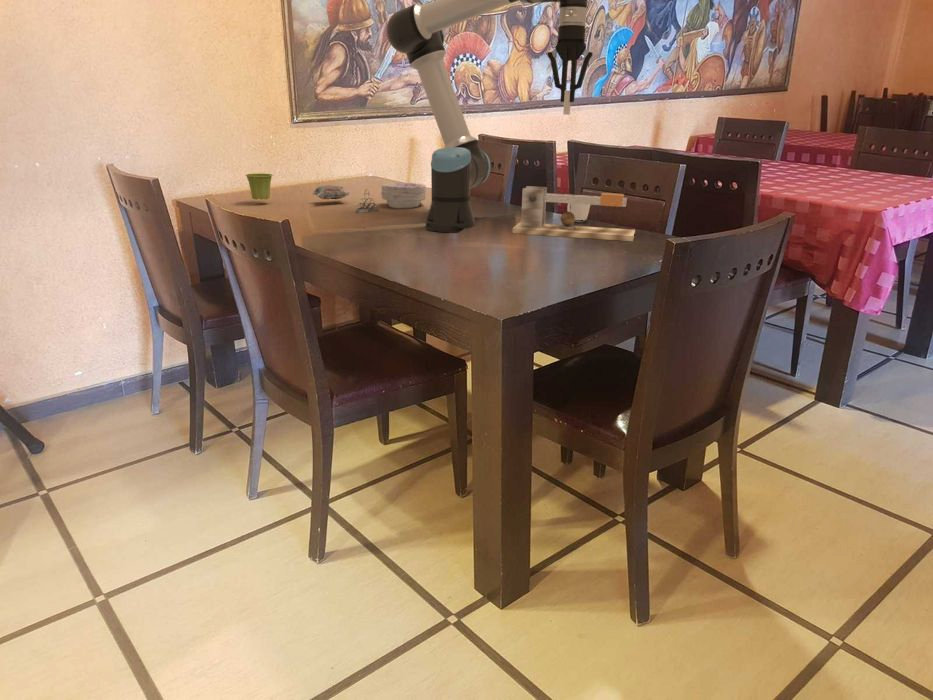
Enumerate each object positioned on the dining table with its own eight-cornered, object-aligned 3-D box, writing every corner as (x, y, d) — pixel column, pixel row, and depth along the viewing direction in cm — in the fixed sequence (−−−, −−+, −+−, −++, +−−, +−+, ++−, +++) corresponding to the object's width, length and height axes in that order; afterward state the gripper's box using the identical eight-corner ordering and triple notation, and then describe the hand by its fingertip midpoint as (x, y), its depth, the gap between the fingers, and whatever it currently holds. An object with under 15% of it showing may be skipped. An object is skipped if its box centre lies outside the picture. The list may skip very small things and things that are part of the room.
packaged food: (349, 200, 252) (349, 186, 251) (317, 201, 248) (316, 187, 246) (343, 197, 260) (343, 184, 258) (312, 198, 255) (311, 185, 254)
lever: (527, 202, 198) (528, 190, 197) (530, 200, 202) (531, 188, 201) (625, 208, 192) (626, 196, 190) (626, 206, 195) (627, 194, 194)
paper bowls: (419, 203, 250) (419, 181, 248) (430, 210, 237) (430, 186, 234) (378, 205, 246) (377, 182, 243) (387, 211, 232) (386, 187, 230)
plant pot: (265, 196, 261) (263, 172, 258) (279, 198, 256) (277, 174, 252) (242, 198, 255) (240, 174, 252) (257, 201, 249) (254, 176, 246)
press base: (512, 233, 200) (514, 189, 195) (519, 227, 209) (521, 185, 204) (632, 241, 191) (637, 195, 187) (634, 234, 200) (639, 191, 196)
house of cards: (379, 208, 240) (378, 186, 237) (384, 212, 232) (383, 189, 230) (353, 209, 237) (352, 186, 235) (357, 213, 230) (356, 190, 227)
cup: (576, 224, 214) (578, 198, 211) (558, 219, 223) (559, 194, 220) (594, 223, 217) (596, 197, 214) (576, 218, 225) (578, 193, 223)
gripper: (546, 24, 191) (542, 114, 200) (594, 23, 188) (587, 115, 196) (551, 26, 198) (546, 113, 206) (596, 26, 195) (590, 114, 203)
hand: (566, 114), depth 201 cm, fingers closed
